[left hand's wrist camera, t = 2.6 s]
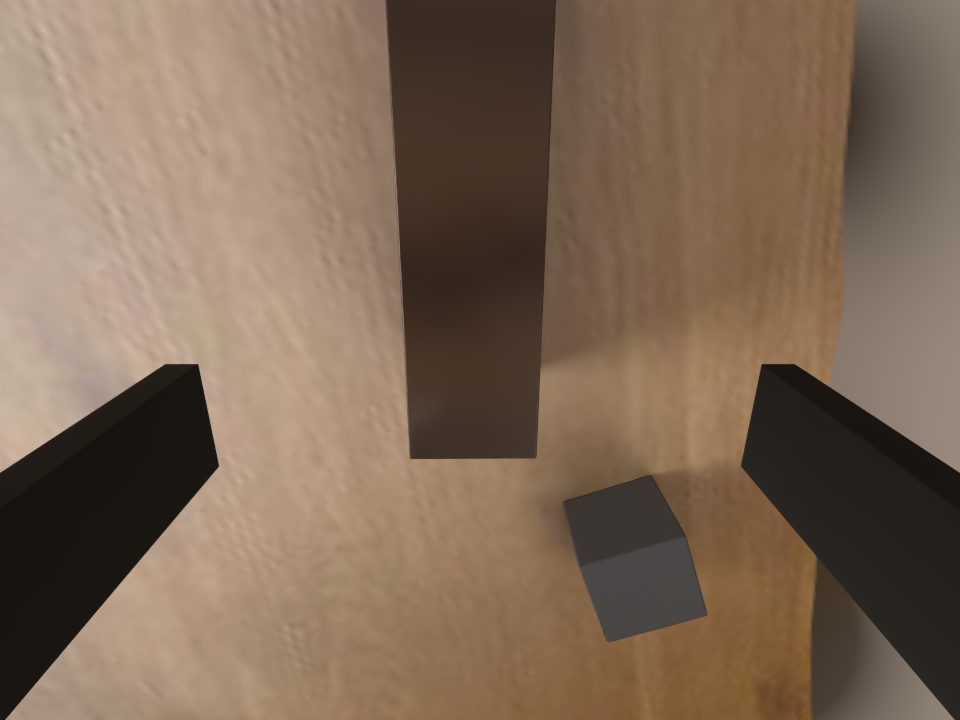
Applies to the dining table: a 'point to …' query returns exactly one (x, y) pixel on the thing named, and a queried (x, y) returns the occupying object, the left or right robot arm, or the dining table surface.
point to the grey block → (634, 559)
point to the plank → (471, 218)
